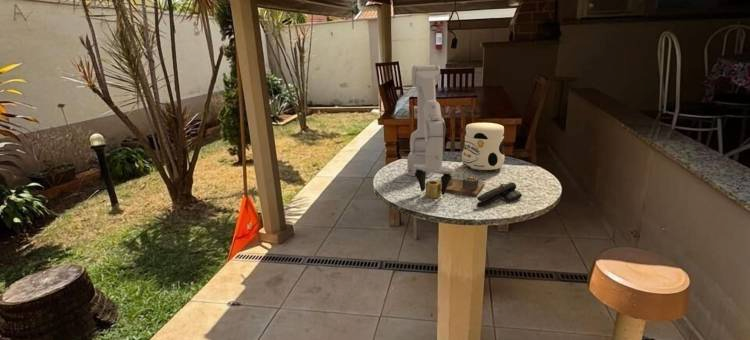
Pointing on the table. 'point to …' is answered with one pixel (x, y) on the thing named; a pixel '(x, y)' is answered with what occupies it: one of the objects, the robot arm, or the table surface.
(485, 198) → the can opener
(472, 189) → the gear board
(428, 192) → the brass gear
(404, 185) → the table surface
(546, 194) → the table surface
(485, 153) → the milk container
